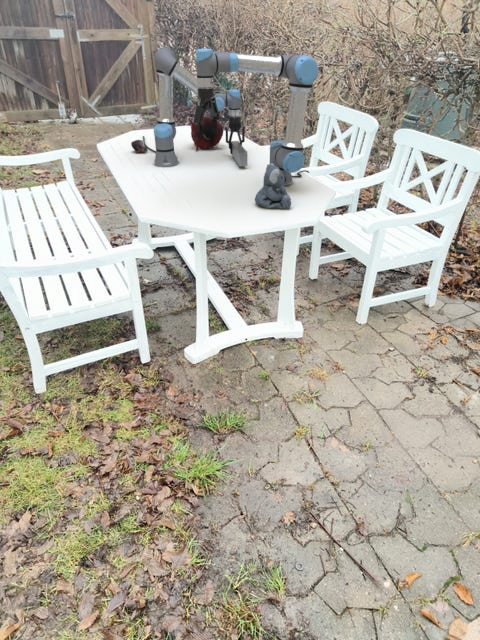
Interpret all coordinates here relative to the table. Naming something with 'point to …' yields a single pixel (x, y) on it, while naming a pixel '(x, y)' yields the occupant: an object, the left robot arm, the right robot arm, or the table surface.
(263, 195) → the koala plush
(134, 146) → the rock
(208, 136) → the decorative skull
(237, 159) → the bar
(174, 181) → the table surface
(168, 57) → the left robot arm
